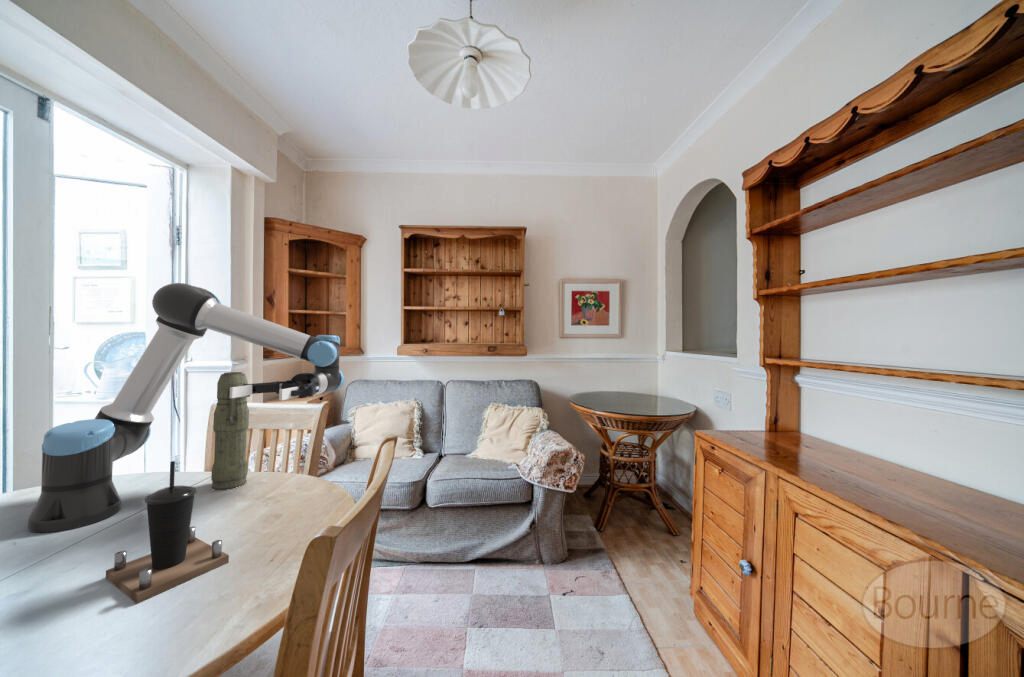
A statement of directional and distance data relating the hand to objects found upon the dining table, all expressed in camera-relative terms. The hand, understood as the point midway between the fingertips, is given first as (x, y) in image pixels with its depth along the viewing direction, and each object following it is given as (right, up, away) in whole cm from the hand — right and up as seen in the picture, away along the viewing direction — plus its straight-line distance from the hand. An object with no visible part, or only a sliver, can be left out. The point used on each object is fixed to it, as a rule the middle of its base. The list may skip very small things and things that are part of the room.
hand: (255, 394), depth 96 cm
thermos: (-23, -32, +21) cm, 44 cm away
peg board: (-2, -32, -21) cm, 38 cm away
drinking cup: (-2, -31, -21) cm, 37 cm away
